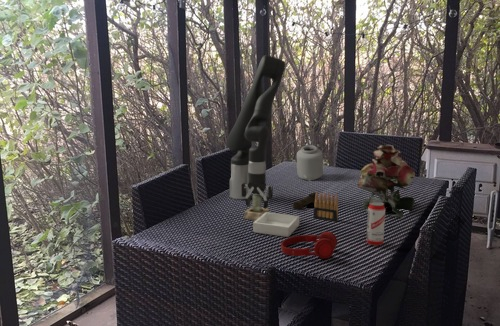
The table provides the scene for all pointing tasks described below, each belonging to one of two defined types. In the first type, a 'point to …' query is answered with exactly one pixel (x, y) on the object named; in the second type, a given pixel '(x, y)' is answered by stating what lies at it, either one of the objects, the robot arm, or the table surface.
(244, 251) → the table surface
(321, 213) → the ammunition clip
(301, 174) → the jar
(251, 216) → the holder
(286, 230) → the tray
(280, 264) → the table surface
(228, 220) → the table surface
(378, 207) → the beer can
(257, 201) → the dowel
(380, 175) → the rose bouquet
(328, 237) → the headphones
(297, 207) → the hand tool
